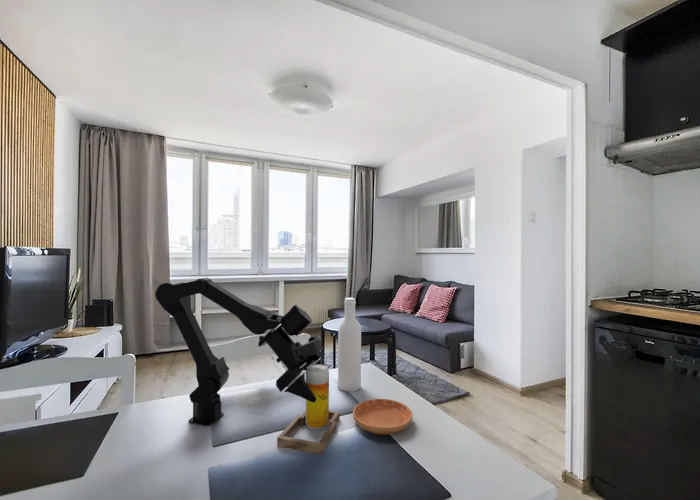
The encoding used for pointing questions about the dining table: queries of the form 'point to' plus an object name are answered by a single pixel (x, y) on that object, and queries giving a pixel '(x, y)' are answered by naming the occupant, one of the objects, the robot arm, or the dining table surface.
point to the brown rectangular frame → (305, 445)
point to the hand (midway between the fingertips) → (321, 393)
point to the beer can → (318, 397)
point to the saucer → (382, 416)
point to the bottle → (349, 349)
